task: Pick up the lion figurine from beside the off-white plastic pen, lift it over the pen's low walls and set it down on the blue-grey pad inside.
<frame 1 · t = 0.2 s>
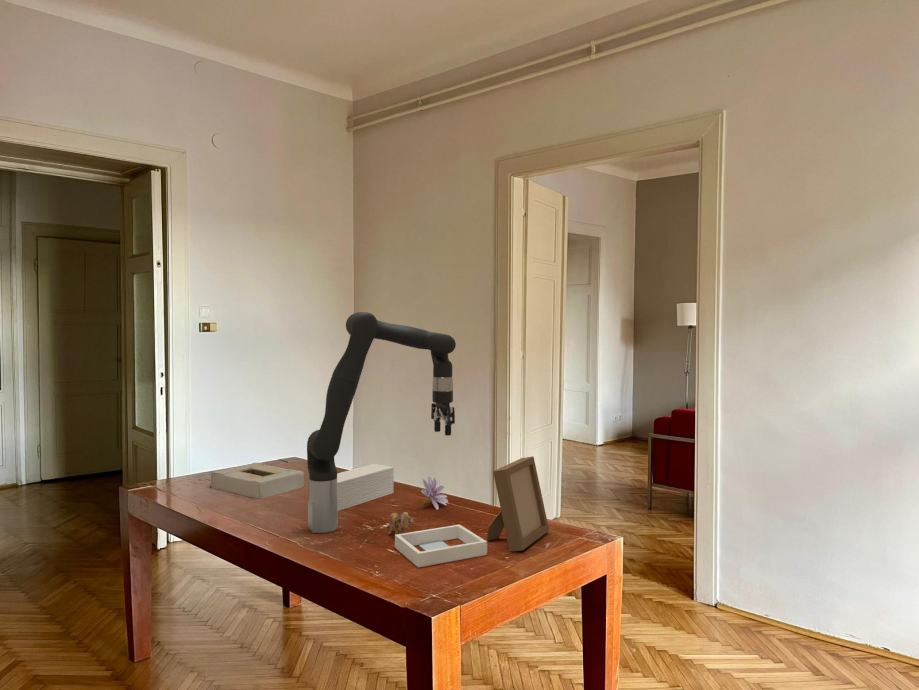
hand: (442, 433, 243), 29 cm above the table, tool pointing down, fingers open, 8 cm apart
box: (257, 488, 280), on the table
low pen: (440, 551, 203), on the table
lion figurine: (398, 536, 218), on the table
water lily: (435, 506, 252), on the table
stack of papers: (356, 500, 261), on the table
photo frame: (514, 539, 214), on the table
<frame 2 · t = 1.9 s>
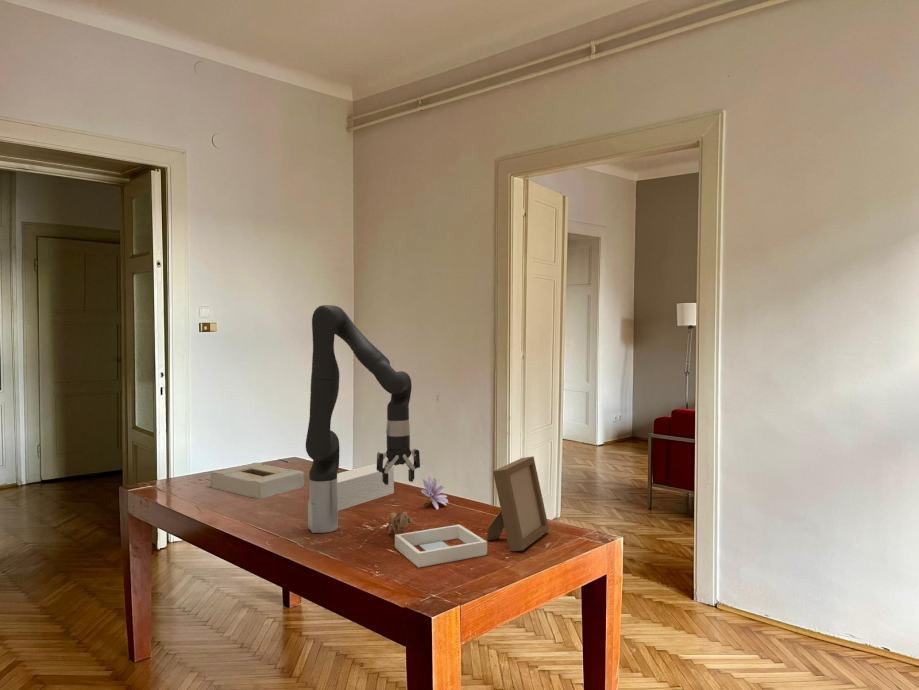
hand: (398, 482, 217), 17 cm above the table, tool pointing down, fingers open, 8 cm apart
nothing on the table moved.
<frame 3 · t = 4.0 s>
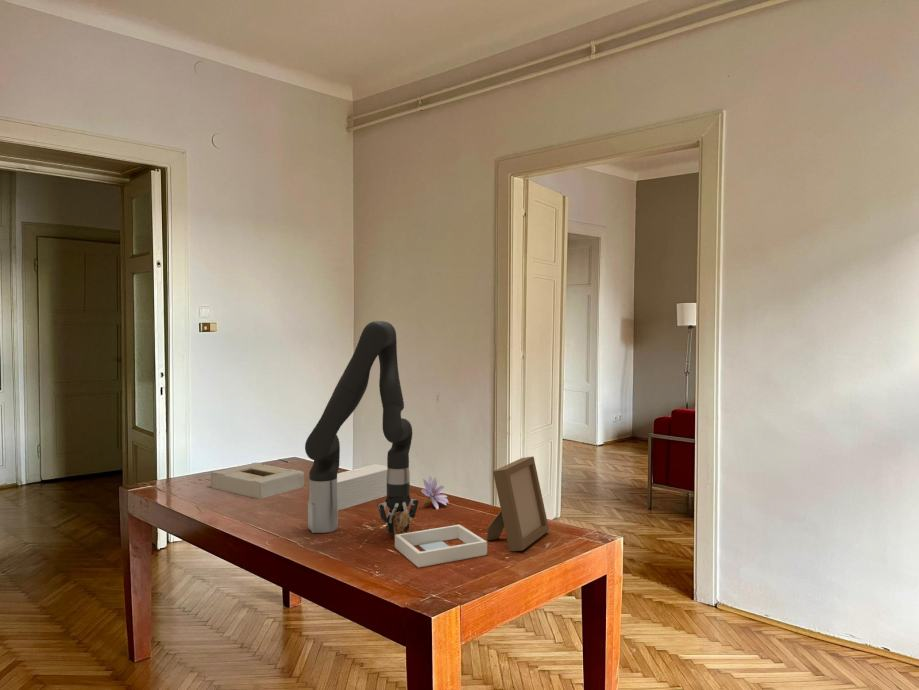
hand: (398, 532, 217), 1 cm above the table, tool pointing down, fingers closed on lion figurine, 4 cm apart
lion figurine: (397, 535, 218), on the table, touching gripper
everything else where it was.
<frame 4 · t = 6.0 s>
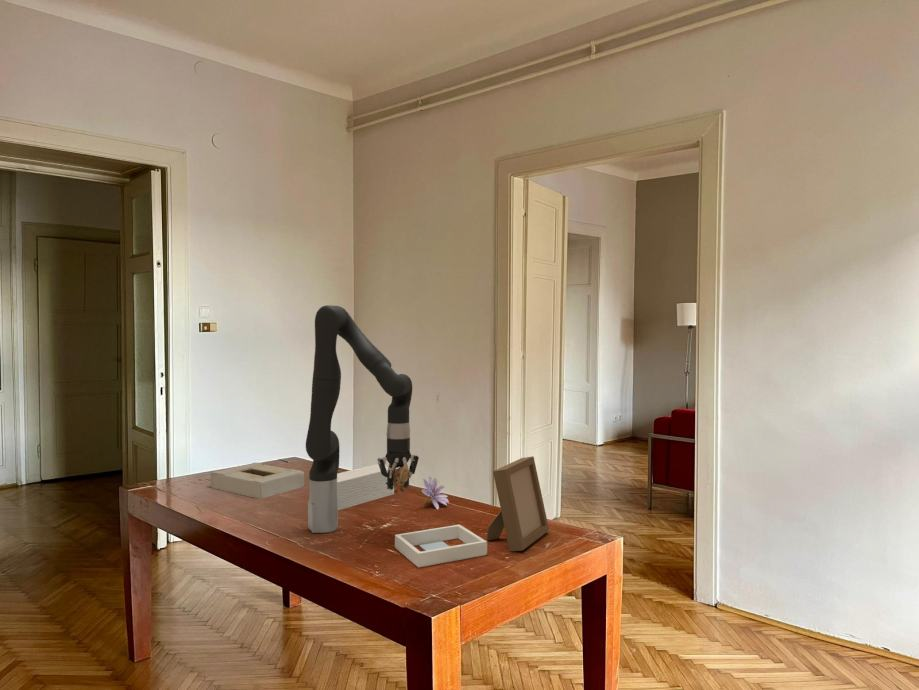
hand: (398, 487, 217), 16 cm above the table, tool pointing down, fingers closed on lion figurine, 4 cm apart
lion figurine: (397, 491, 218), point 14 cm above the table, touching gripper
everything else where it was.
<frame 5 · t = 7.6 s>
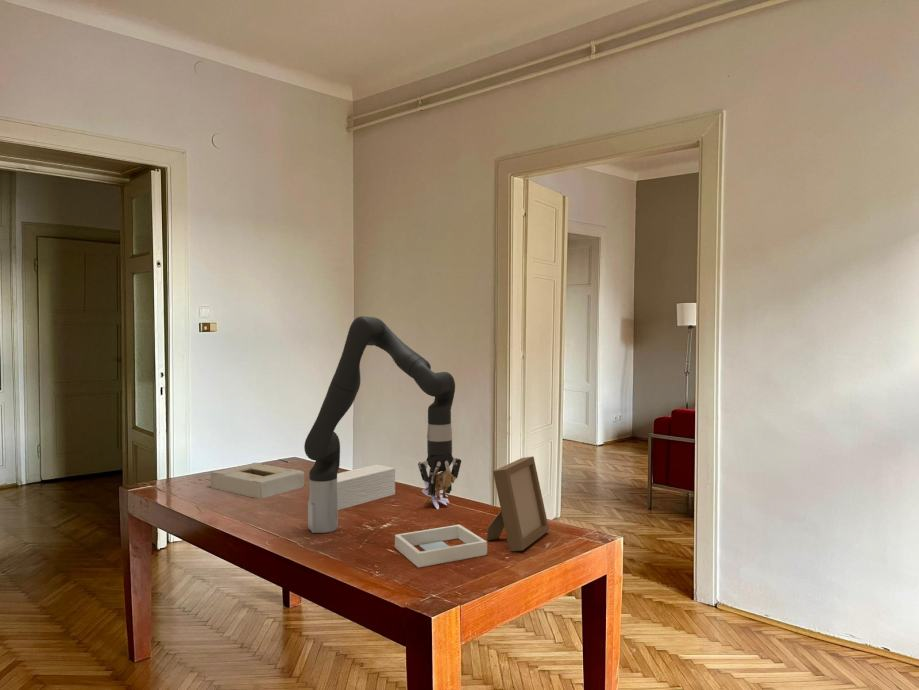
hand: (440, 493, 203), 18 cm above the table, tool pointing down, fingers closed on lion figurine, 4 cm apart
lion figurine: (439, 497, 204), point 16 cm above the table, touching gripper
when the fingers open (3 cm above the table, at t = 11.1 s): lion figurine drops 1 cm, resting on low pen.
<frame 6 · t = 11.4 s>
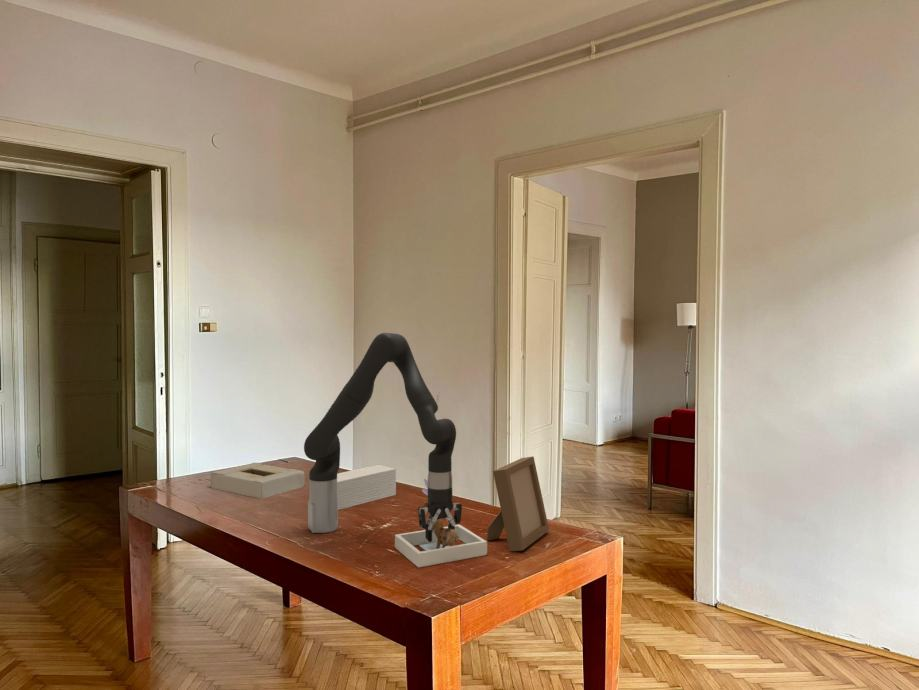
hand: (440, 539, 203), 4 cm above the table, tool pointing down, fingers open, 6 cm apart
lion figurine: (438, 545, 205), point 1 cm above the table, touching low pen
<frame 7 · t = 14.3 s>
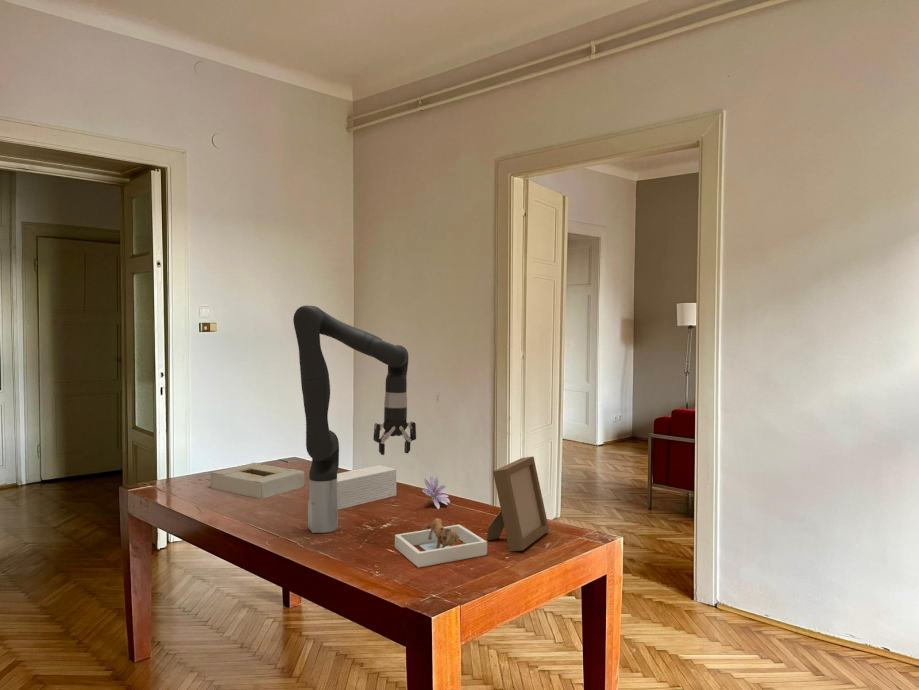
hand: (394, 453, 222), 26 cm above the table, tool pointing down, fingers open, 8 cm apart
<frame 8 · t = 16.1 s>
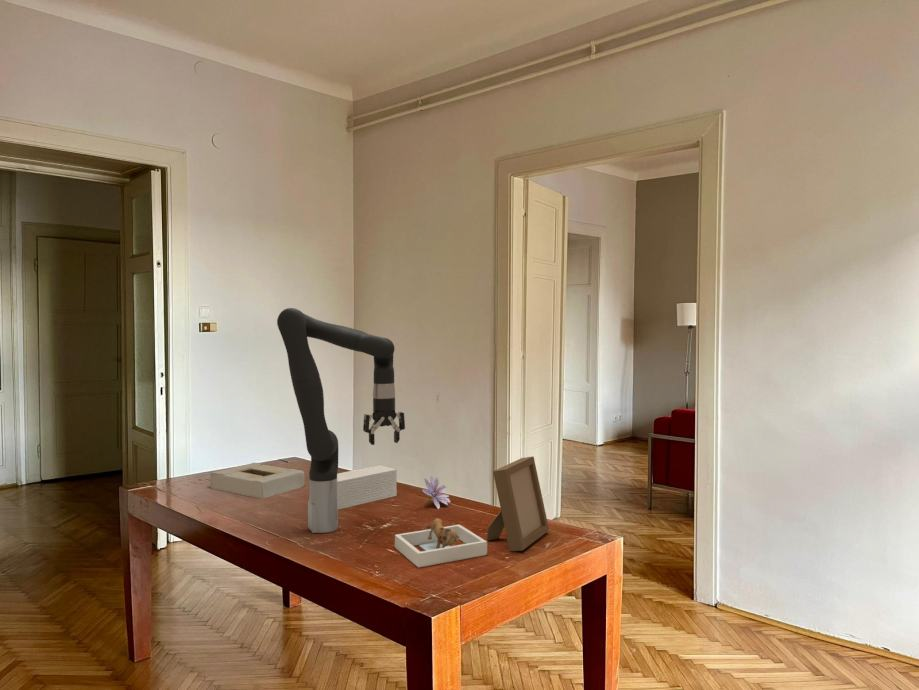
hand: (384, 443, 228), 28 cm above the table, tool pointing down, fingers open, 8 cm apart
at the end: lion figurine inside the target area on the low pen (1.7 cm from its centre), point 1.3 cm above the low pen's base; lion figurine tilted 22°; the gripper is holding nothing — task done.
